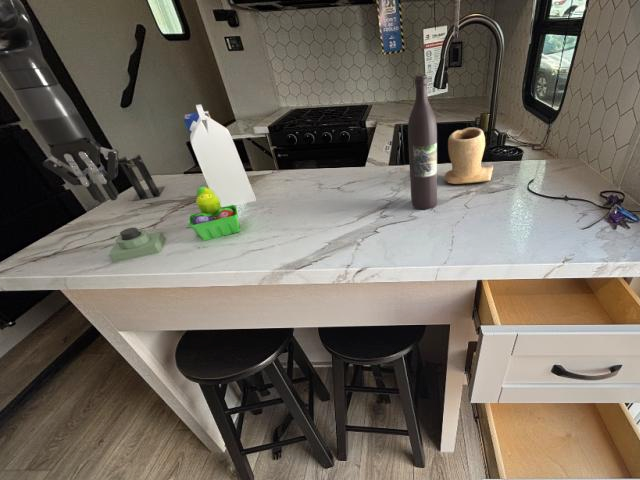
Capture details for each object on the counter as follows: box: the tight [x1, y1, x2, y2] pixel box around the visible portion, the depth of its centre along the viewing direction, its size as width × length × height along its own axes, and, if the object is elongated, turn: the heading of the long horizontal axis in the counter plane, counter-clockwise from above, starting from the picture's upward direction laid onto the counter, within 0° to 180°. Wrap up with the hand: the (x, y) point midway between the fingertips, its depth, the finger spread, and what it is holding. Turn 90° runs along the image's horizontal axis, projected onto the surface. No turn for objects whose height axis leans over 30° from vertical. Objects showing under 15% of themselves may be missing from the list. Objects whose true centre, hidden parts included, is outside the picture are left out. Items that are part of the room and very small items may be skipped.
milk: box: [189, 104, 258, 207], centre depth 99 cm, size 12×12×26 cm
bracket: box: [119, 154, 165, 202], centre depth 110 cm, size 10×8×13 cm
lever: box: [118, 157, 137, 169], centre depth 103 cm, size 12×4×2 cm, turn 19°
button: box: [119, 227, 141, 240], centre depth 81 cm, size 4×4×2 cm
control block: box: [107, 229, 166, 263], centre depth 83 cm, size 10×8×4 cm
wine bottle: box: [407, 74, 438, 210], centre depth 84 cm, size 7×7×30 cm
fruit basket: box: [188, 185, 241, 242], centre depth 85 cm, size 11×9×11 cm
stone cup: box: [444, 127, 494, 185], centre depth 100 cm, size 15×12×15 cm
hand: (108, 199), depth 76 cm, fingers closed
